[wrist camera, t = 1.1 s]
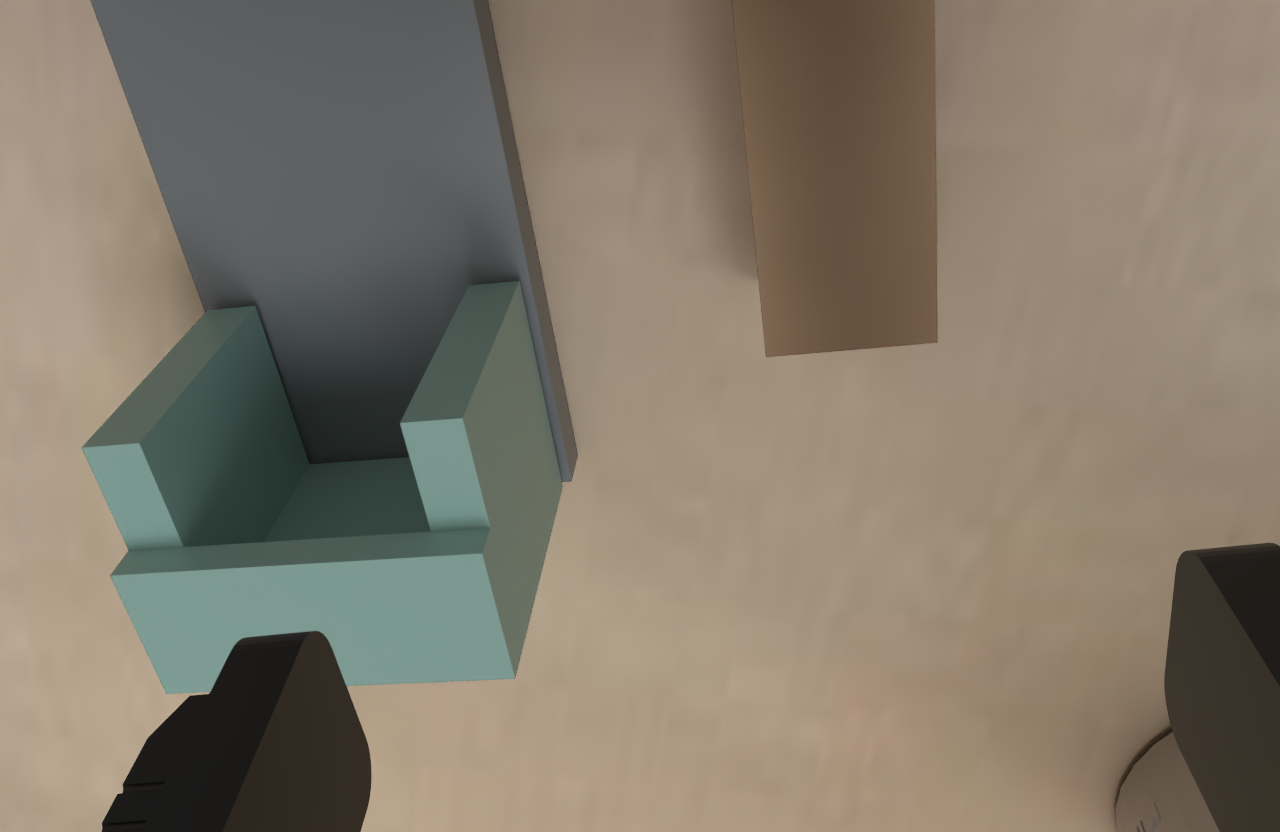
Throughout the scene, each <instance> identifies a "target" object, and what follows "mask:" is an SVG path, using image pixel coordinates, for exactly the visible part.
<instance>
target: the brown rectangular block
mask: <svg viewBox="0 0 1280 832" xmlns="http://www.w3.org/2000/svg"><path fill="white" fill-rule="evenodd" d="M732 10H733V21H734V31H735V42H736V52H737V62H738V73H739V83H740V93H741V104H742V114H743V124H744V135H745V145H746V156H747V166H748V176H749V187H750V197H751V207H752V218H753V228H754V239H755V249H756V259H757V270H758V280H759V290H760V301H761V311H762V321H763V332H764V342H765V353H766V357H774V356H785V355H797V354H809V353H820V352H832V351H844V350H856V349H867V348H879V347H891V346H902V345H914V344H926V343H938V332H937V230H936V129H935V28H934V0H732Z"/></svg>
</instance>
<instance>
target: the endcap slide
mask: <svg viewBox="0 0 1280 832" xmlns="http://www.w3.org/2000/svg"><path fill="white" fill-rule="evenodd" d="M400 425H401V429H402V432H403V436H404V439H405V443H406V446H407V450H408V453H409V457H405V458H391V459H378V460H364V461H350V462H336V463H323V464H309V461H308V458H307V455H306V452H305V449H304V447H303V444H302V441H301V438H300V435H299V432H298V429H297V426H296V423H295V420H294V417H293V414H292V411H291V409H290V406H289V403H288V400H287V397H286V394H285V391H284V388H283V385H282V382H281V379H280V376H279V373H278V371H277V368H276V365H275V362H274V359H273V356H272V353H271V350H270V347H269V344H268V341H267V338H266V335H265V333H264V330H263V327H262V324H261V321H260V318H259V315H258V312H257V309H256V306H248V307H237V308H227V309H216V310H208V311H207V312H206V313H205V314H204V315H203V316H202V317H201V318H200V319H199V320H198V321H197V323H196V324H195V325H194V326H193V327H192V328H191V329H190V330H189V331H188V332H187V333H186V335H185V336H184V337H183V338H182V339H181V340H180V341H179V342H178V343H177V344H176V345H175V347H174V348H173V349H172V350H171V351H170V352H169V353H168V354H167V355H166V356H165V357H164V358H163V360H162V361H161V362H160V363H159V364H158V365H157V366H156V367H155V368H154V369H153V370H152V372H151V373H150V374H149V375H148V376H147V377H146V378H145V379H144V380H143V381H142V382H141V384H140V385H139V386H138V387H137V388H136V389H135V390H134V391H133V392H132V393H131V394H130V395H129V397H128V398H127V399H126V400H125V401H124V402H123V403H122V404H121V405H120V406H119V407H118V409H117V410H116V411H115V412H114V413H113V414H112V415H111V416H110V417H109V418H108V419H107V421H106V422H105V423H104V424H103V425H102V426H101V427H100V428H99V429H98V430H97V431H96V432H95V434H94V435H93V436H92V437H91V438H90V439H89V440H88V441H87V442H86V443H85V444H84V446H83V447H82V450H83V452H84V454H85V456H86V458H87V461H88V463H89V465H90V467H91V469H92V472H93V474H94V476H95V478H96V480H97V482H98V485H99V487H100V489H101V491H102V493H103V495H104V498H105V500H106V502H107V504H108V506H109V509H110V511H111V513H112V515H113V517H114V519H115V522H116V524H117V526H118V528H119V530H120V533H121V535H122V537H123V539H124V541H125V543H126V546H127V548H128V550H129V551H128V552H127V554H126V555H125V556H124V558H123V559H122V560H121V562H120V563H119V564H118V566H117V567H116V568H115V570H114V571H113V572H112V574H111V575H110V577H111V579H112V581H113V583H114V585H115V587H116V589H117V591H118V593H119V596H120V598H121V600H122V602H123V604H124V606H125V608H126V610H127V612H128V614H129V617H130V619H131V621H132V623H133V625H134V627H135V629H136V631H137V633H138V635H139V638H140V640H141V642H142V644H143V646H144V648H145V650H146V652H147V654H148V656H149V659H150V661H151V663H152V665H153V667H154V669H155V671H156V673H157V675H158V677H159V679H160V682H161V684H162V686H163V688H164V690H165V692H166V694H173V693H196V692H211V690H212V688H213V686H214V684H215V682H216V680H217V678H218V676H219V674H220V672H221V670H222V668H223V666H224V664H225V662H226V660H227V658H228V656H229V654H230V652H231V650H232V648H233V647H234V645H235V644H236V643H237V642H238V641H239V640H241V639H242V638H246V637H255V636H266V635H276V634H287V633H297V632H308V631H319V632H321V633H323V634H324V635H325V636H326V638H327V639H328V641H329V643H330V645H331V647H332V650H333V652H334V655H335V658H336V660H337V663H338V665H339V668H340V671H341V673H342V676H343V679H344V681H345V684H346V686H357V685H380V684H403V683H426V682H449V681H473V680H496V679H515V677H516V673H517V669H518V665H519V661H520V657H521V653H522V649H523V645H524V641H525V637H526V633H527V629H528V625H529V621H530V616H531V612H532V608H533V604H534V600H535V596H536V592H537V588H538V584H539V580H540V576H541V572H542V568H543V564H544V560H545V556H546V552H547V548H548V544H549V540H550V536H551V532H552V528H553V524H554V520H555V516H556V512H557V508H558V503H559V499H560V495H561V491H562V487H563V485H562V481H561V476H560V471H559V466H558V462H557V457H556V452H555V447H554V443H553V438H552V433H551V428H550V423H549V419H548V414H547V409H546V404H545V400H544V395H543V390H542V385H541V381H540V376H539V371H538V366H537V362H536V357H535V352H534V347H533V343H532V338H531V333H530V328H529V324H528V319H527V314H526V309H525V304H524V300H523V295H522V290H521V285H520V281H512V282H502V283H491V284H480V285H470V286H468V288H467V290H466V292H465V294H464V296H463V298H462V300H461V302H460V304H459V306H458V308H457V310H456V312H455V314H454V316H453V318H452V320H451V322H450V324H449V326H448V328H447V330H446V332H445V334H444V336H443V338H442V340H441V342H440V344H439V346H438V348H437V350H436V352H435V354H434V356H433V358H432V360H431V362H430V364H429V366H428V368H427V370H426V372H425V374H424V376H423V378H422V380H421V382H420V384H419V386H418V388H417V390H416V392H415V394H414V396H413V398H412V400H411V402H410V404H409V406H408V408H407V410H406V412H405V414H404V416H403V418H402V420H401V422H400Z"/></svg>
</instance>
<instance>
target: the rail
mask: <svg viewBox="0 0 1280 832" xmlns="http://www.w3.org/2000/svg"><path fill="white" fill-rule="evenodd" d="M90 1H91V3H92V6H93V9H94V11H95V14H96V17H97V20H98V22H99V25H100V28H101V30H102V33H103V36H104V39H105V41H106V44H107V47H108V49H109V52H110V55H111V58H112V60H113V63H114V66H115V68H116V71H117V74H118V77H119V79H120V82H121V85H122V87H123V90H124V93H125V96H126V98H127V101H128V104H129V107H130V109H131V112H132V115H133V117H134V120H135V123H136V126H137V128H138V131H139V134H140V136H141V139H142V142H143V145H144V147H145V150H146V153H147V155H148V158H149V161H150V164H151V166H152V169H153V172H154V174H155V177H156V180H157V183H158V185H159V188H160V191H161V193H162V196H163V199H164V202H165V204H166V207H167V210H168V213H169V215H170V218H171V221H172V223H173V226H174V229H175V232H176V234H177V237H178V240H179V242H180V245H181V248H182V251H183V253H184V256H185V259H186V261H187V264H188V267H189V270H190V272H191V275H192V278H193V280H194V283H195V286H196V289H197V291H198V294H199V297H200V300H201V302H202V305H203V308H204V310H205V313H206V312H207V311H208V310H216V309H227V308H237V307H248V306H256V309H257V312H258V315H259V318H260V321H261V324H262V327H263V330H264V333H265V335H266V338H267V341H268V344H269V347H270V350H271V353H272V356H273V359H274V362H275V365H276V368H277V371H278V373H279V376H280V379H281V382H282V385H283V388H284V391H285V394H286V397H287V400H288V403H289V406H290V409H291V411H292V414H293V417H294V420H295V423H296V426H297V429H298V432H299V435H300V438H301V441H302V444H303V447H304V449H305V452H306V455H307V458H308V461H309V464H323V463H336V462H350V461H364V460H378V459H391V458H405V457H409V453H408V450H407V446H406V443H405V439H404V436H403V432H402V429H401V425H400V422H401V420H402V418H403V416H404V414H405V412H406V410H407V408H408V406H409V404H410V402H411V400H412V398H413V396H414V394H415V392H416V390H417V388H418V386H419V384H420V382H421V380H422V378H423V376H424V374H425V372H426V370H427V368H428V366H429V364H430V362H431V360H432V358H433V356H434V354H435V352H436V350H437V348H438V346H439V344H440V342H441V340H442V338H443V336H444V334H445V332H446V330H447V328H448V326H449V324H450V322H451V320H452V318H453V316H454V314H455V312H456V310H457V308H458V306H459V304H460V302H461V300H462V298H463V296H464V294H465V292H466V290H467V288H468V286H470V285H480V284H491V283H502V282H512V281H520V285H521V290H522V295H523V300H524V304H525V309H526V314H527V319H528V324H529V328H530V333H531V338H532V343H533V347H534V352H535V357H536V362H537V366H538V371H539V376H540V381H541V385H542V390H543V395H544V400H545V404H546V409H547V414H548V419H549V423H550V428H551V433H552V438H553V443H554V447H555V452H556V457H557V462H558V466H559V471H560V476H561V481H562V482H570V481H572V477H573V473H574V469H575V465H576V461H577V456H578V454H577V449H576V444H575V439H574V434H573V429H572V424H571V419H570V414H569V409H568V404H567V399H566V394H565V389H564V384H563V379H562V374H561V369H560V364H559V359H558V354H557V349H556V344H555V339H554V334H553V329H552V324H551V319H550V314H549V308H548V303H547V298H546V293H545V288H544V283H543V278H542V273H541V268H540V263H539V258H538V253H537V248H536V243H535V238H534V233H533V228H532V223H531V218H530V213H529V208H528V203H527V198H526V193H525V188H524V183H523V178H522V173H521V168H520V163H519V158H518V152H517V147H516V142H515V137H514V132H513V127H512V122H511V117H510V112H509V107H508V102H507V97H506V92H505V87H504V82H503V77H502V72H501V67H500V62H499V57H498V52H497V47H496V42H495V37H494V32H493V27H492V22H491V17H490V12H489V7H488V1H487V0H90Z"/></svg>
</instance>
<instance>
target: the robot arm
mask: <svg viewBox="0 0 1280 832" xmlns="http://www.w3.org/2000/svg"><path fill="white" fill-rule="evenodd" d="M1165 698H1166V705H1167V710H1168V716H1169V720H1170V724H1171V727H1172V731H1173V732H1171V733H1170V734H1169V735H1167V736H1166V737H1164V738H1163V739H1161V740H1160V741H1159V742H1157V743H1156V744H1154V745H1153V746H1152V747H1151V748H1150V749H1149V750H1148V751H1147V752H1146V754H1145V755H1144V756H1143V757H1142V758H1141V759H1140V760H1139V761H1138V762H1137V763H1136V764H1135V765H1134V766H1133V768H1132V770H1131V771H1130V773H1129V775H1128V776H1127V778H1126V780H1125V781H1124V783H1123V785H1122V786H1121V789H1120V793H1119V797H1118V800H1117V804H1116V808H1115V814H1116V830H1117V832H1280V546H1279V545H1276V544H1274V543H1263V544H1253V545H1242V546H1232V547H1221V548H1211V549H1200V550H1189V551H1185V552H1183V553H1182V554H1181V556H1180V558H1179V560H1178V563H1177V567H1176V574H1175V583H1174V592H1173V602H1172V611H1171V620H1170V630H1169V639H1168V649H1167V658H1166V667H1165ZM370 790H371V760H370V753H369V748H368V743H367V740H366V737H365V734H364V732H363V729H362V727H361V724H360V721H359V719H358V716H357V713H356V711H355V708H354V705H353V703H352V700H351V697H350V695H349V692H348V689H347V687H346V684H345V681H344V679H343V676H342V673H341V671H340V668H339V665H338V663H337V660H336V658H335V655H334V652H333V650H332V647H331V645H330V643H329V641H328V639H327V638H326V636H325V635H324V634H323V633H321V632H319V631H308V632H297V633H287V634H276V635H266V636H255V637H246V638H242V639H241V640H239V641H238V642H237V643H236V644H235V645H234V647H233V648H232V650H231V652H230V654H229V656H228V658H227V660H226V662H225V664H224V666H223V668H222V670H221V672H220V674H219V676H218V678H217V680H216V682H215V684H214V686H213V688H212V690H211V692H210V694H205V695H194V696H189V697H188V698H187V699H186V700H185V701H184V702H183V703H182V704H181V705H180V706H179V707H178V708H177V709H176V710H175V711H174V712H173V713H172V714H171V715H170V716H169V717H168V718H167V719H166V720H165V721H164V722H163V723H162V724H161V725H160V726H159V727H158V728H157V729H156V730H155V731H154V732H153V733H152V734H151V735H150V736H149V737H148V739H147V741H146V742H145V744H144V746H143V748H142V750H141V752H140V754H139V755H138V757H137V759H136V761H135V763H134V765H133V767H132V768H131V770H130V772H129V774H128V776H127V778H126V780H125V781H124V783H123V793H122V794H117V796H116V798H115V800H114V802H113V804H112V806H111V807H110V809H109V811H108V813H107V815H106V817H105V818H104V820H103V822H102V826H103V829H102V832H360V831H361V828H362V824H363V821H364V818H365V814H366V811H367V807H368V803H369V798H370Z"/></svg>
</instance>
